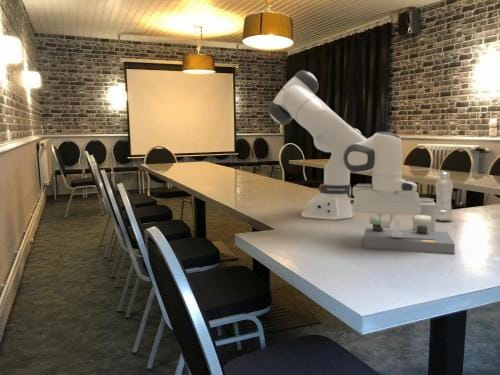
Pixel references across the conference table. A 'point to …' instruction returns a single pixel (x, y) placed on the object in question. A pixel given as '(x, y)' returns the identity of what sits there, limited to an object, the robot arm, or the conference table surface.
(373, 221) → the sage button
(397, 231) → the paddle lever
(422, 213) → the can
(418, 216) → the cream button
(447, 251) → the control panel
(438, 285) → the conference table surface
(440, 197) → the plastic bottle
